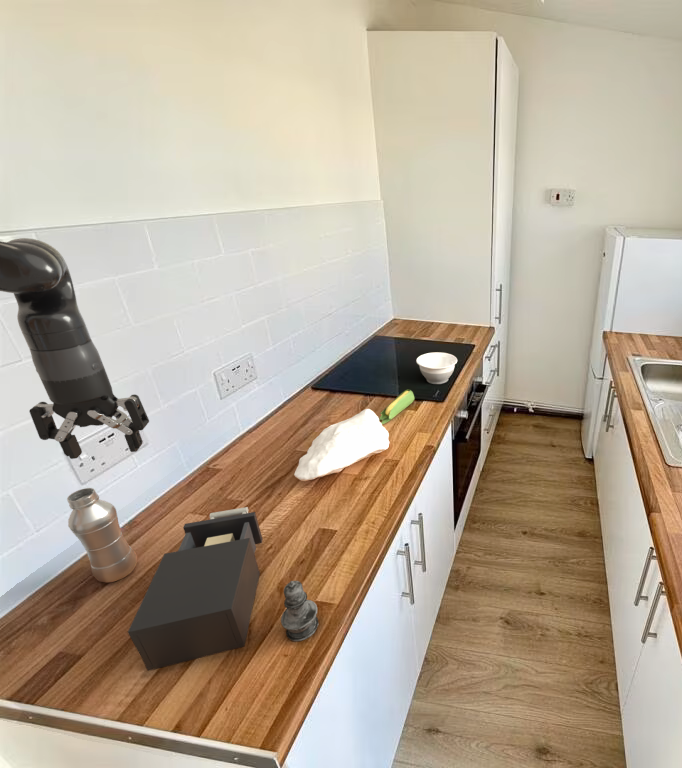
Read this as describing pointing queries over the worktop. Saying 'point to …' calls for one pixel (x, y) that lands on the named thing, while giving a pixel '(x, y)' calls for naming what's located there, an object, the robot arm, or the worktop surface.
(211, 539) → the block
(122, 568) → the silver metal bottle
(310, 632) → the grey tiered figure
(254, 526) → the drawer
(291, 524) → the worktop surface
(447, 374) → the bowl
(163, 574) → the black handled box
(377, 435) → the crumpled cloth
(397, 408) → the edible corn
